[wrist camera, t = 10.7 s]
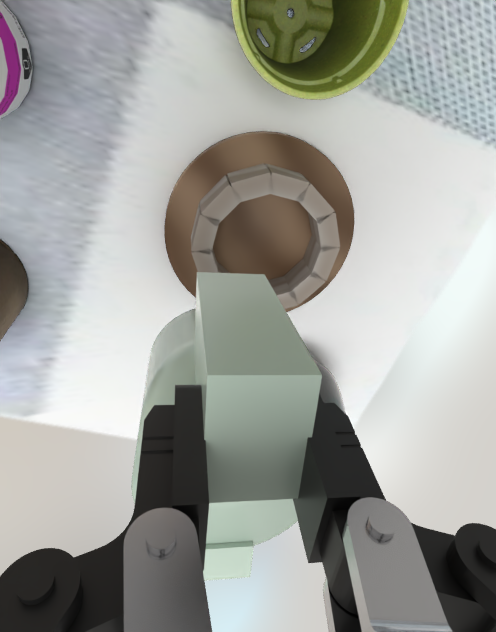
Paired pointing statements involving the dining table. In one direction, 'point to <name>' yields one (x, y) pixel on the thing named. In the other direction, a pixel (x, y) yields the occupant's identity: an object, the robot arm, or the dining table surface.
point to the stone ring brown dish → (261, 215)
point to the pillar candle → (11, 287)
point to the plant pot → (317, 41)
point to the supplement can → (13, 63)
